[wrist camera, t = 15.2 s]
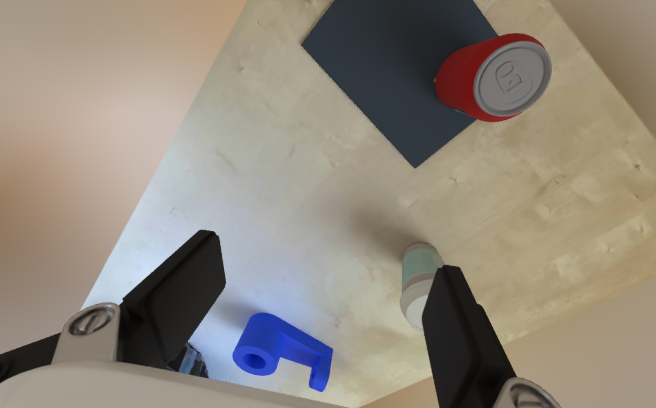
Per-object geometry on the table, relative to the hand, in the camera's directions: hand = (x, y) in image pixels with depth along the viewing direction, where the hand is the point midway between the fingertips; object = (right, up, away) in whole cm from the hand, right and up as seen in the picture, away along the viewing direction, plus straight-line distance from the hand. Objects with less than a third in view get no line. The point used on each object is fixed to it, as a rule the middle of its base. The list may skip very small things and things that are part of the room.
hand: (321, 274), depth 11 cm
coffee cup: (+16, -6, +32) cm, 36 cm away
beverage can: (+17, +18, +20) cm, 32 cm away
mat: (+10, +20, +20) cm, 30 cm away
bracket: (-8, -27, +47) cm, 55 cm away
